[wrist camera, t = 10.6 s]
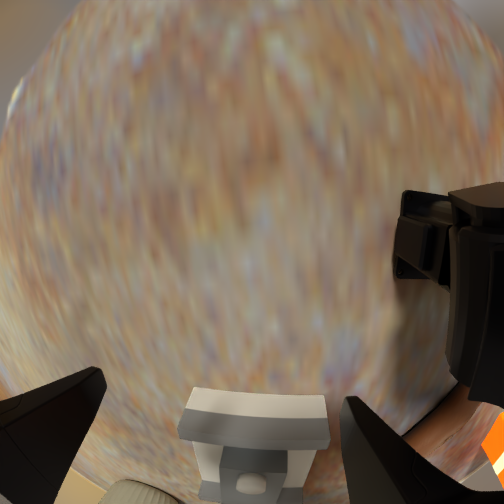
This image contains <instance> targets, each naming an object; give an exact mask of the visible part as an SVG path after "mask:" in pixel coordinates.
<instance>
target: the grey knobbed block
mask: <svg viewBox="0 0 504 504" xmlns="http://www.w3.org/2000/svg"><path fill="white" fill-rule="evenodd" d="M287 471H288V450H264V449H249V448H238V447H229V446H224V447H223V452H222V456H221V460H220V465H219V476H220V490H221V504H276V502H277V499H278V497H279V494H280V492H281V489H282V487H283V484H284V481H285V479H286V476H287Z"/></svg>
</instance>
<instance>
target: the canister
mask: <svg viewBox="0 0 504 504" xmlns="http://www.w3.org/2000/svg"><path fill="white" fill-rule="evenodd" d="M98 504H179V503H178V502H177V501H176V500H175V499H174V498H172V497H171V496H169V495H168V494H166V493H164V492H162V491H160V490H158V489H156V488H153V487H151V486H148V485H146V484H143V483H139V482H135V481H131V480H120V481H118V482H116V483H114V484H113V485H112V486H111V487H110V489H109V490H108V491H107V493H106V494H105V495H104V497H103V498H102V499H101V501H100V502H99V503H98Z"/></svg>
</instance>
